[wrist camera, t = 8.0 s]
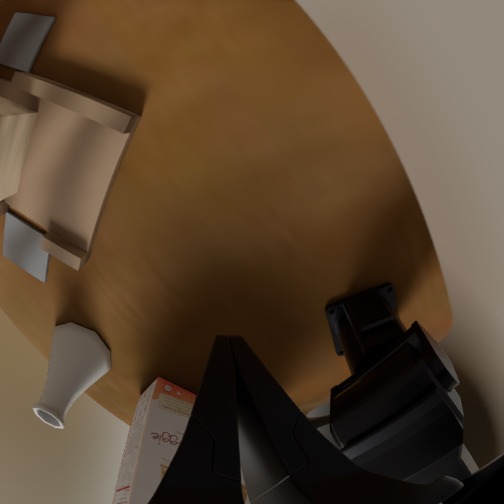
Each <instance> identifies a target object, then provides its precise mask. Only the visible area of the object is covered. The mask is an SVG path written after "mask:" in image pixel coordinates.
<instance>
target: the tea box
mask: <svg viewBox="0 0 504 504" xmlns="http://www.w3.org/2000/svg"><path fill="white" fill-rule="evenodd" d="M37 114H38V112H35V111H33V110H31V109H28V108H26V107H24V106H22V105H19V104H17V103H15V102H12V101H10V100H7V99H5V98H3V97H0V201H1V200H3V199H5V198H7V197H9V196H11V195H13V194H15V193H17V191H18V186H19V181H20V176H21V171H22V167H23V163H24V158H25V154H26V151H27V147H28V143H29V140H30V136H31V133H32V129H33V126H34V123H35V120H36V117H37Z"/></svg>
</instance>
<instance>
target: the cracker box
mask: <svg viewBox="0 0 504 504" xmlns="http://www.w3.org/2000/svg"><path fill="white" fill-rule="evenodd" d="M195 398H196V394H194V393H191V392H189V391H187V390H185V389H183V388H181V387H179V386H177V385H175V384H173V383H171V382H169V381H167V380H165V379H163V378H161V377H158V378H157V379H156V380H155V381H154V382H153V383H152V384H151V385H150V386H149V387H148V388H147V389H146V390H145V391H144V392H143V393H142V395H141V396H140V397H139V399H138V402H137V406H136V409H135V413H134V416H133V420H132V423H131V427H130V431H129V434H128V438H127V442H126V446H125V450H124V454H123V458H122V462H121V467H120V471H119V475H118V480H117V484H116V489H115V494H114V498H113V503H112V504H147V503H148V502H149V500H150V499H151V497H152V496H153V494H154V492H155V491H156V489H157V487H158V485H159V483H160V482H161V480H162V478H163V476H164V474H165V472H166V470H167V468H168V466H169V464H170V462H171V460H172V459H173V457H174V455H175V453H176V451H177V448H178V446H179V444H180V442H181V440H182V437H183V434H184V432H185V429H186V426H187V423H188V420H189V417H190V414H191V411H192V408H193V404H194V401H195ZM240 466H241V465H240ZM241 483H242V492H243V498H244V502H245V504H250V502H249V498H248V494H247V490H246V486H245V482H244V478H243V474H242V469H241Z"/></svg>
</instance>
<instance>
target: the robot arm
mask: <svg viewBox="0 0 504 504" xmlns="http://www.w3.org/2000/svg"><path fill="white" fill-rule="evenodd" d="M389 287H390V289H388V288H389ZM387 289H388V290H387ZM331 309H333V310H332V311H330V310H331ZM325 311H326V315H327V319H328V323H329V326H330V330H331V334H332V338H333V342H334V346H335V350H336V353H337V355H338V356H342V355H345V358H346V361H347V364H348V366H349V369H350V372H351V374H352V375H351V376H350V377H349V378H347V379H346V380H345V381H343V382H342V383H340V384H339V385H338V386H337V385H336V386H334V387H333V388H331V398H330V422H329V423H330V432H331V434H332V436H333V438H334V440H335V442H336V443H337V444H338V446H339V447H340V448H341V451H340V450H339V449H338V448H336V447H335V446H334V445H333V444H332V443H331V442H330V441H329V440H327V439H326V438H325V437H324V436H323V435H322V434H321V433H320V432H319V431H318V430H317V429H316V428H315V427H314V425H313V424H312V423H311V422H310V421H309V420H308V419H307V418H306V416H305V415H304V414H303V413H302V412H300V409H299V408H298V407H297V406H296V405H295V403H294V402H293V401H292V400H291V398H290V397H289V396H288V395H287V394H286V392H285V391H284V390H283V389H282V387H281V386H280V385H279V384H278V382H277V381H276V380H275V379H274V377H273V376H272V375H271V374H270V372H269V371H268V370H267V369H266V367H265V366H264V365H263V363H262V362H261V361H260V360H259V358H258V357H257V356H256V354H255V353H254V352H253V350H252V349H251V348H250V347H249V345H248V344H247V343H246V341H245V340H244V339H243V337H242V336H239V335H230V336H229V337H228V335H216V336H215V339H214V342H213V345H212V348H211V351H210V354H209V358H208V361H207V364H206V367H205V370H204V373H203V376H202V379H201V382H200V386H199V389H198V392H197V395H196V398H195V401H194V404H193V408H192V411H191V414H190V417H189V420H188V423H187V426H186V429H185V432H184V434H183V437H182V440H181V442H180V444H179V446H178V448H177V451H176V453H175V455H174V457H173V459H172V460H171V462H170V464H169V466H168V468H167V470H166V472H165V474H164V476H163V478H162V480H161V482H160V483H159V485H158V487H157V489H156V491H155V492H154V494H153V496H152V497H151V499H150V500H149V502H148V503H147V504H245V502H244V498H243V492H242V483H241V469H242V474H243V478H244V482H245V486H246V490H247V494H248V498H249V502H250V504H504V453H503V454H501V455H500V456H499V457H497V458H496V459H494V460H493V461H491V462H490V463H488V464H487V465H485V466H484V467H482V468H481V469H479V468H478V467H477V465H476V463H475V462H474V460H473V459H472V457H471V455H470V454H469V452H468V450H467V449H466V447H465V446H464V444H463V432H464V416H463V410H462V405H461V400H460V397H459V395H458V394H457V392H456V391H455V389H454V388H455V387H456V386H457V385H458V384H459V380H458V378H457V376H456V373H455V371H454V368H453V366H452V363H451V362H450V360H449V359H448V357H447V356H446V355H445V353H444V351H443V350H442V349H441V347H440V346H439V344H438V343H437V342H436V341H435V340H434V339H433V338H432V337H431V335H430V334H429V333H428V332H427V331H426V330H425V329H424V328H423V327H422V326H421V325H420V324H419V323H418V321H417V320H416V321H415V322H414V323H413V324H412V325H411V327H410V328H409V329H408V330H407V329H406V328H405V326H404V325H403V323H402V322H401V320H400V319H399V317H398V316H397V312H396V297H395V287H394V285H393V284H392V283H390V282H389V283H386V284H383V285H381V286H378V287H376V288H373V289H370V290H368V291H365V292H362V293H360V294H357V295H354V296H352V297H349V298H346V299H343V300H341V301H338V302H335V303H332V304H329V305H328V306H327V307H326V308H325ZM240 465H241V466H240Z"/></svg>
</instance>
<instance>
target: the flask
mask: <svg viewBox="0 0 504 504" xmlns="http://www.w3.org/2000/svg"><path fill="white" fill-rule="evenodd" d="M110 369H111V362H110V351H109V350H108V348H107V347H106V346H105V344H104V343H103V342H102V340H101V339H100V338H99V336H98V335H97V333H96V332H95V331H92V330H89V329H87V328H84V327H82V326H79V325H77V324H74V323H72V322H70V323H66V324H62V325H59V326H55V327H54V332H53V338H52V345H51V353H50V360H49V367H48V375H47V380H46V383H45V387H44V391H43V394H42V396H41V398H40V400H39V402H38V403H37V404H34V405H33V407H32V408H33V410H34V412H35V414H36V415H37V416H38V417H39V418H40V419H41V420H43V421H44V422H45V423H47V424H49V425H51V426H53V427H55V428H64V426H65V424H64V417H65V415H66V413H67V411H68V409H69V408H70V406H71V405H72V404H73V402H74V401H75V399H76V398H77V397H79V396H80V394H82V393H83V392H84V391H85V390H86V389H87V388H88V387H90V386H91V385H92V384H93V383H94V382H95V381H97V380H98V379H99V378H100V377H102V376H103V375H104V374H105V373H106V372H107V371H109V370H110Z"/></svg>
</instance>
